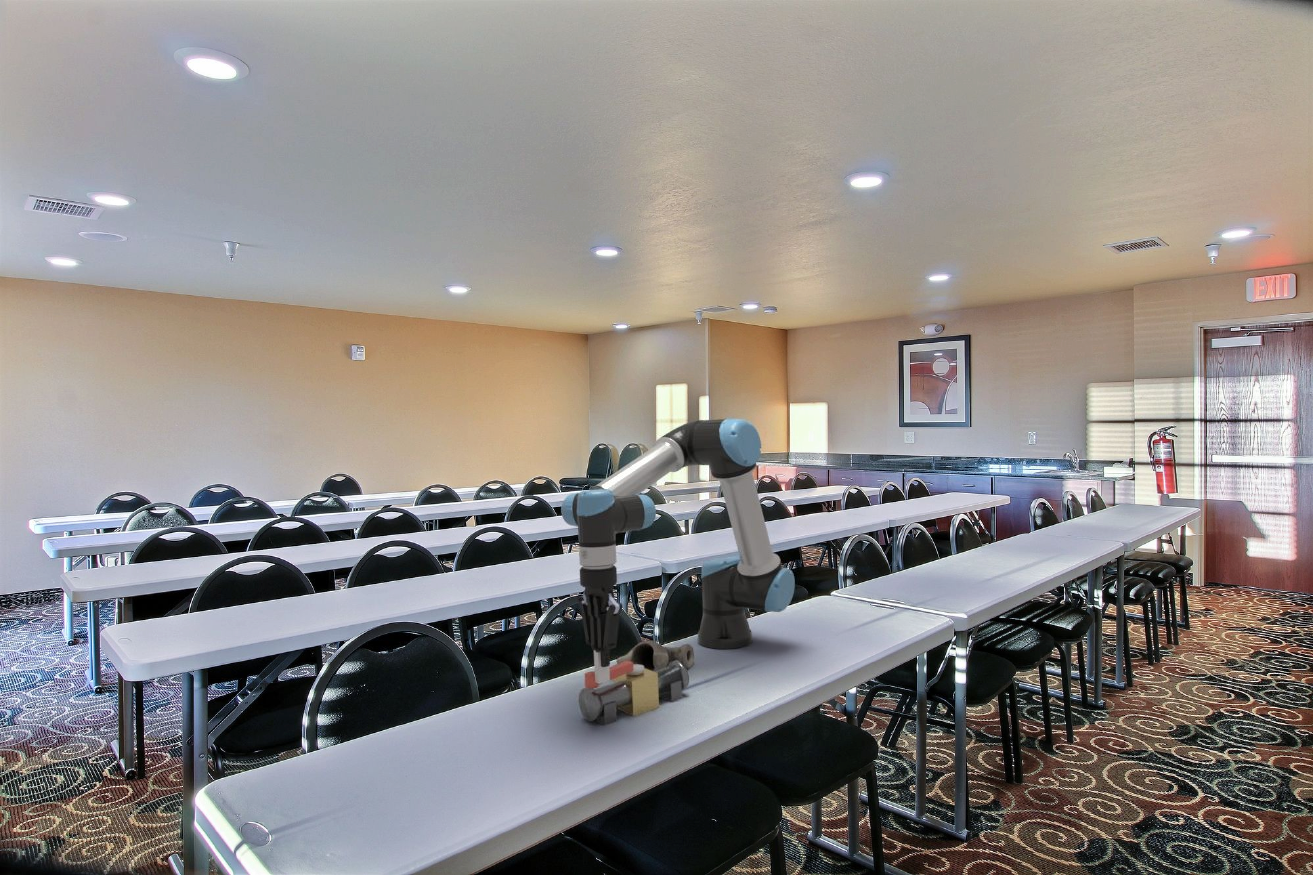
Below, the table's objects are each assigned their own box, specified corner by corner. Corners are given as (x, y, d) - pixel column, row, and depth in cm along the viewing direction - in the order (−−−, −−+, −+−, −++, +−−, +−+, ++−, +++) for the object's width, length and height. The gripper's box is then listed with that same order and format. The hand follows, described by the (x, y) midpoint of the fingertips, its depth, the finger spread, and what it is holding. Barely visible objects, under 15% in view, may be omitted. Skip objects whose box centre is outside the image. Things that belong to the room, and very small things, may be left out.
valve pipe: (670, 688, 174) (669, 656, 174) (690, 696, 168) (689, 663, 168) (579, 718, 158) (577, 683, 158) (597, 728, 153) (596, 692, 152)
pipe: (648, 698, 190) (621, 684, 179) (637, 666, 196) (609, 651, 185) (702, 666, 188) (678, 650, 177) (689, 635, 194) (665, 618, 182)
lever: (634, 667, 166) (633, 652, 166) (647, 670, 163) (647, 655, 163) (580, 689, 153) (579, 673, 153) (594, 693, 151) (593, 677, 151)
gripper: (565, 564, 155) (569, 678, 155) (600, 572, 145) (605, 693, 145) (595, 560, 160) (599, 670, 160) (631, 566, 150) (636, 684, 150)
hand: (602, 681), depth 152 cm, fingers closed
